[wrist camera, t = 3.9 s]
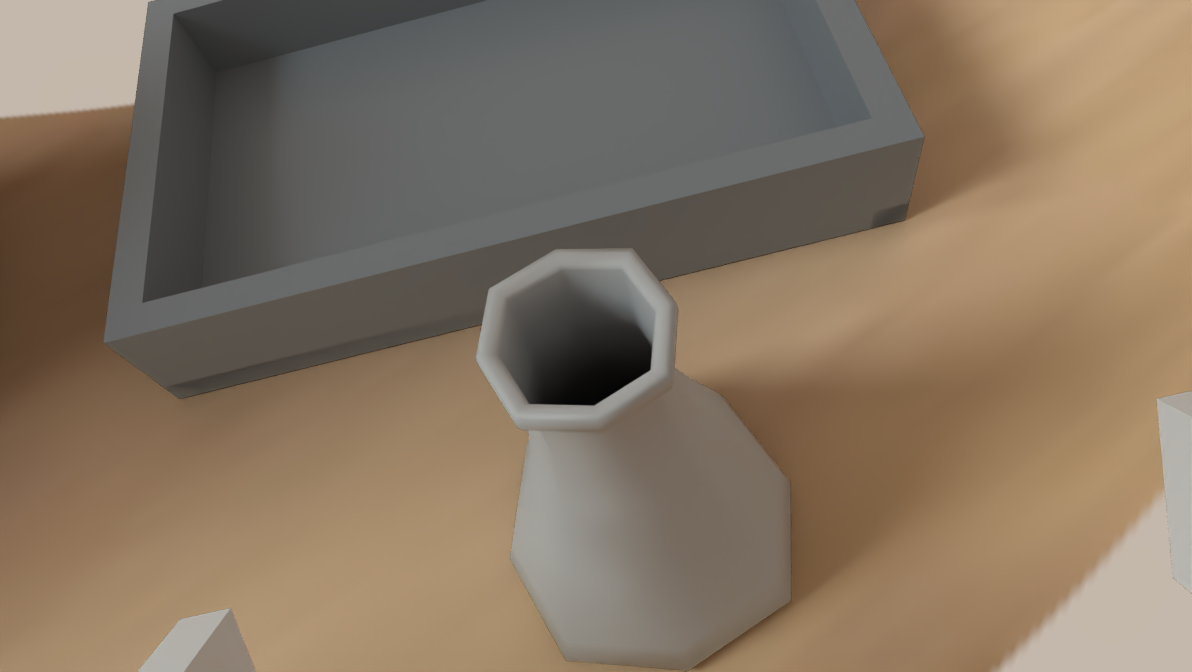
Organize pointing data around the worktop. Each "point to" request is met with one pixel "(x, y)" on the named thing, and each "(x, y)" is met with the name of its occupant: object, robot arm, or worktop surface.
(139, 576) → the worktop surface
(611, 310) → the flask
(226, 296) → the charcoal tray
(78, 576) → the worktop surface
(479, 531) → the worktop surface
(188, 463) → the worktop surface
